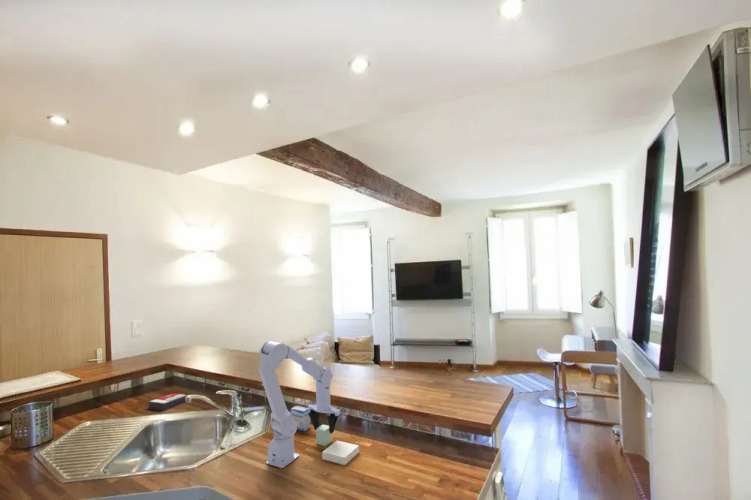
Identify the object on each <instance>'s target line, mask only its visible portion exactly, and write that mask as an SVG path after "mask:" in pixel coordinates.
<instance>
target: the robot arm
mask: <svg viewBox="0 0 751 500" xmlns="http://www.w3.org/2000/svg"><path fill="white" fill-rule="evenodd" d="M259 355H260V356H259V364H258V372H259V373H258V374H259V377H260V380H261V382H262V385H263V388H264V391H265V394H266V397H267V401H268V403H269V406H270V407H269V408H270V410H271V414H270V427H271V430H273V439H271V441H269V443H268V446H267V461H265V462H266V464H267V465H271V466H274V467H278V468H280V469H283V468H285V467H287V465H289V464H290V463H292V462H293V461H294V460H297V458H299V457H300V454H298V453H295V434H296V432H297V422H296V421H295V420H294V419H293V418H292V415H291V411H289V409H288V407H287V405H286V402H285V398H284V396H283V392H282V390H281V386H280V383H279V380H278V379H279V378H278V377H277V374H276V370H277V368H278V367H279V366H280V365H281V364H282V363H283V361H285V359H286V360H289V359H290V360H291V361H293V362H294V363H296V364H298V365H300V366H301V370H302V371H303V372H304V373H306V374H308V375H309V376H311V377H312V378H313V380H315V397H316V398H315V400H316V401H315V403H316V404H309V405H308V406H307V408H308V411H310V413H309V414H308V415H309V417H310V421H311V422H312V425H313V430H314V431H316V429H317V428H318V427H320V415H321V413H323V414H329V416H327V417H326V418H327V422H328V426H329V432H330V433H332V434H333V433H334V432H335V428H336V424H337V422H338V419H339V416H340V414H341V410H340V409H337V408H336V407H333V406H332V405H331V382H332V379H333V375H334V374H333V372H332V371H331V369H330V368H328V367H325V366H324V364H323V363H320V362H318V361H317V359H316V358H314V357H307V358H306V357H305V356H303V354H302V353H299V352H298V351H297V350H295V349H294V348H292V347H291V346H290V345H287V344H285V343H282V342H276V341H275V340H267V341H265V342H264V343H263V345H262V347H261V348H260V349H259Z"/></svg>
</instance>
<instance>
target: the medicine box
mask: <svg viewBox="0 0 751 500" xmlns="http://www.w3.org/2000/svg"><path fill="white" fill-rule="evenodd" d="M309 413H310V411H308V407H304V406H298V405H295V406H292V407H291V408H290V414H291V415H292V418H293V419H294V420H295V421H296V422H297V430H298V431H303V432H305V431H307V430H309V429H310V428H311V418H310V417H309V415H308V414H309ZM297 430H296V431H297Z"/></svg>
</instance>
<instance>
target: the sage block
mask: <svg viewBox="0 0 751 500" xmlns="http://www.w3.org/2000/svg"><path fill="white" fill-rule="evenodd" d="M315 432H316V433H315V437H316V439H315V440H316V444H317V445H320V446H324V447H327V446H328V445H329V444H331V442H333V433H330V432H329V425H327V424H321V425H319V427H318V428H317V429H316V430H315Z"/></svg>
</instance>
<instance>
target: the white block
mask: <svg viewBox="0 0 751 500" xmlns="http://www.w3.org/2000/svg"><path fill="white" fill-rule="evenodd" d="M321 453H322V454H321V455H322V456H321V457H322V460H324V461H327V462H333V463H336V464H339V465H342V466H345V465H347V464H348V463H349V462H350V461H352V459H354V458H355V457H356V456H357V455H358V454H359V453H360V445H358V444H355V443H350V442H345V441H341V440H335V442H333V443H332V444H330V446H328V447H327V448H325V449H324V450H323V451H322V452H321Z"/></svg>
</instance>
